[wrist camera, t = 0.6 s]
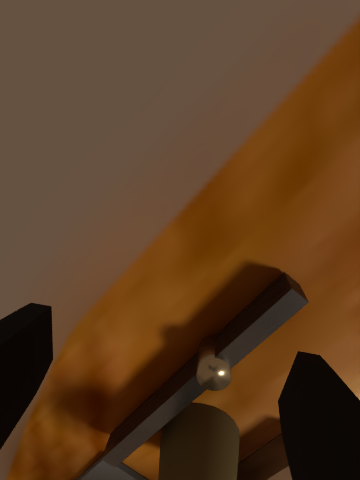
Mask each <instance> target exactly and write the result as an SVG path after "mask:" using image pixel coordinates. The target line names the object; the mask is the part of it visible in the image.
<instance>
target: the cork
mask: <svg viewBox="0 0 360 480" xmlns="http://www.w3.org/2000/svg"><path fill="white" fill-rule="evenodd" d="M239 443H240V435H239V429H238V427H237V425H236V423H235V421H234V420H233V419H232V418H231V417H230V416H229V415H228V414H226V413H225V412H223V411H221V410H220V409H218V408H216V407H213V406H209V405H205V404H189V405H188V406H186V407H185V408H184V409H183V410H182V411H181V412H179V413H178V414H177V415H176V416H175V417H174V418H172V419H171V420H170V421H169V422H168V423H166V424H165V425H164V426H163V427H162V428H161V444H160V461H159V478H158V480H237V470H238V456H239Z"/></svg>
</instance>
